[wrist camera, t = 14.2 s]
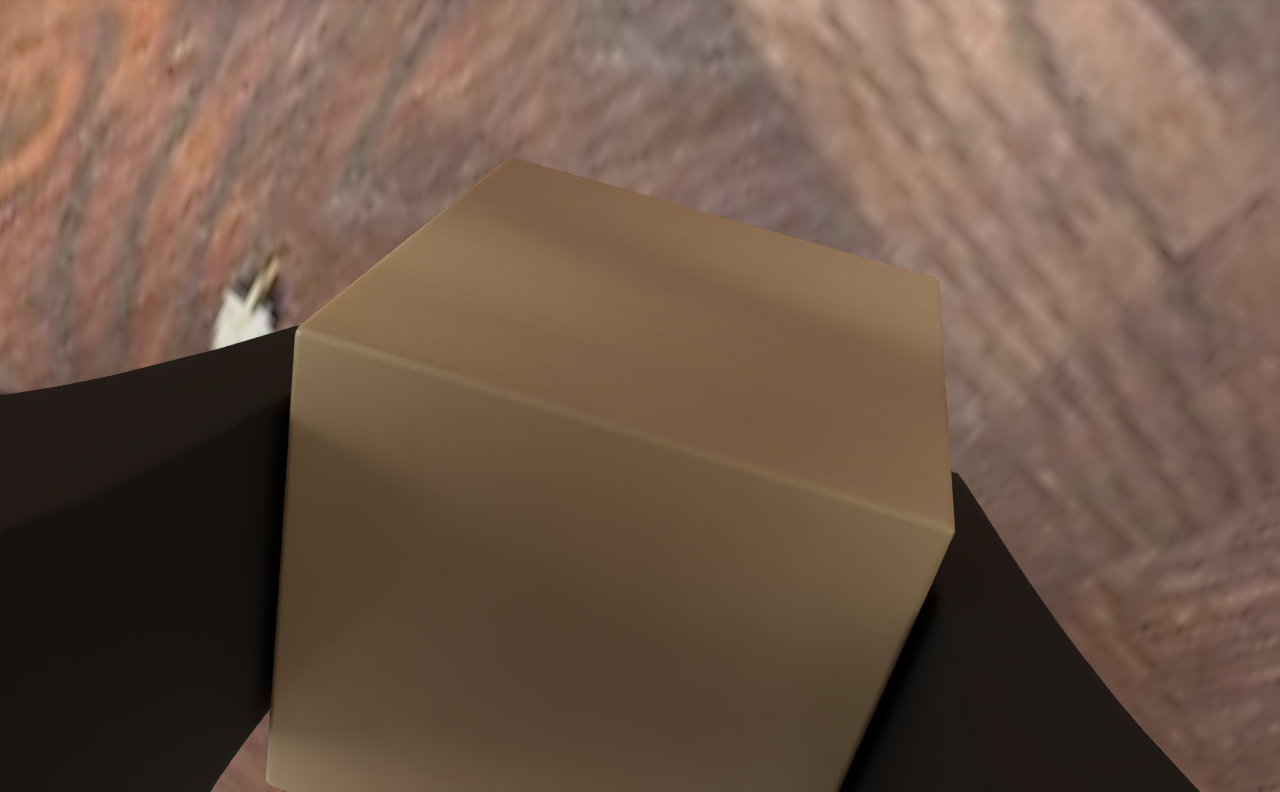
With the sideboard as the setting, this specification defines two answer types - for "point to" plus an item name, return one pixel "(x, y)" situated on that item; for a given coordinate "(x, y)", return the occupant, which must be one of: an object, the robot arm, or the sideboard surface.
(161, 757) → the robot arm
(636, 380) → the block
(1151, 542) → the sideboard surface
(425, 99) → the sideboard surface
